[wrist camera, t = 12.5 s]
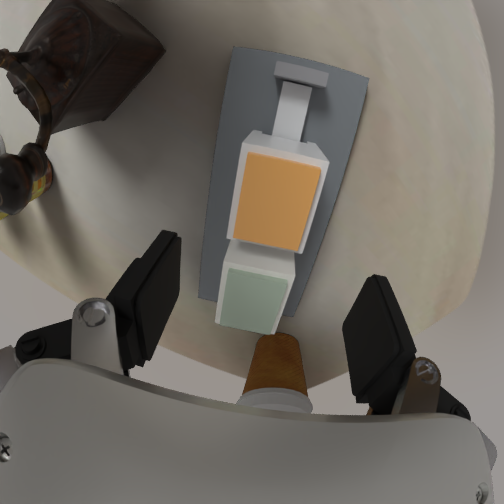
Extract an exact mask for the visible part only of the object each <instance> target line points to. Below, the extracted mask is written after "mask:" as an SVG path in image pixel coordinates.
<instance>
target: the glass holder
mask: <svg viewBox="0 0 504 504" xmlns="http://www.w3.org/2000/svg"><path fill="white" fill-rule="evenodd" d="M4 153H6V150H5V145H4V142H3V139H2V137H1V135H0V156H1V155H3V154H4Z"/></svg>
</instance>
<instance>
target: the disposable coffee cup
mask: <svg viewBox="0 0 504 504" xmlns="http://www.w3.org/2000/svg"><path fill="white" fill-rule="evenodd" d="M236 404H238V405H244V406H250V407H256V408H263V409H270V410H279V411H288V412H298V413H311V412H312V409H313V407H312V404H311V402H310V400H309V398H308V394H307V388H306V383H305V376H304V370H303V365H302V359H301V354H300V348H299V343H298V341H297V340H296V339H295V338H294V337H292V336H290V335H288V334H284V333H275V334H270V335H265V336H263V337H261V338H260V339H259V340H258V342H257V345H256V349H255V352H254V356H253V359H252V363H251V366H250V370H249V373H248V377H247V380H246V384H245V387H244V390H243V393H242V396H241V397H240V399H239V400H238V401H237V403H236Z"/></svg>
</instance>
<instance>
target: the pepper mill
mask: <svg viewBox="0 0 504 504" xmlns="http://www.w3.org/2000/svg"><path fill="white" fill-rule="evenodd" d="M165 51H166V50H165V49H164V48H163V46H162V45H161V43H160V42H159V40H158V39H157V38H155V37H154V36H153V35H152V34H151V33H150V32H149V31H148V30H147V29H146V28H145V27H144V26H142V25H141V24H140V23H139V22H138V21H137V20H136V19H134V18H133V17H132V16H130V15H129V14H128V13H126V12H125V11H124V10H122V9H121V8H120V7H118V6H117V5H115V4H114V3H111V2H108V1H105V0H52V1H51V2H50V3H49V5H48V6H47V7H46V9H45V10H44V12H43V13H42V14H41V16H40V17H39V19H38V20H37V22H36V23H35V25H34V26H33V28H32V29H31V31H30V32H29V34H28V36H27V37H26V39H25V41H24V42H23V44H22V46H21V47H20V49H19V51H18V52H9V50H8V49H5V48H4V49H1V50H0V67H1V68H4V69H5V70H7V71H8V72H7V75H6V76H7V78H8V80H9V81H10V83H11V85H12V86H13V88H14V90H13V92H14V94H17V95H18V98H19V100H20V102H21V103H22V104H23V105H24V106H25V107H26V108H28V110H29V111H30V112H31V114H32V115H33V117H34V118H35V119H36V121H37V122H38V123H39V125H40V127H39V132H38V136H37V139H36V143H28V144H26V145H24V146H23V148H22V149H21V151H20V152H19V154H18V155H13V154H8V153H4V154H3V155H1V156H0V212H3V213H6V214H9V215H15V214H17V213H19V212H20V211H21V210H22V209H23V208H24V207H25V206H26V205H27V204H28V203H29V202H30V200H31V198H32V186H33V183H34V181H37V180H39V179H40V178H42V177H43V176H44V175H46V172H47V167H48V159H47V156H46V154H45V152H46V150H47V147H48V143H49V139H50V135H52V134H54V133H56V132H60V131H63V130H66V129H69V128H73V127H76V126H80V125H83V124H87V123H90V122H95V121H99V120H102V121H104V120H105V119H106V118H107V117H108V116H109V115H110V114H111V113H112V112H113V111H114V110H115V109H116V108H117V107H118V106H119V105H120V104H121V103H122V102H123V101H124V99H125V98H126V97H127V96H128V95H129V94H130V92H131V91H132V90H133V89H134V88H135V87H136V86H137V85H138V84H139V82H140V81H141V80H142V79H143V78H144V77H145V76H146V75H147V74H148V73H149V72H150V70H151V69H152V68H153V66H154V65H155V64H156V63H157V61H158V60H159V59H160V58H161V56H162V55H163V54H164V53H165Z"/></svg>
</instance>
